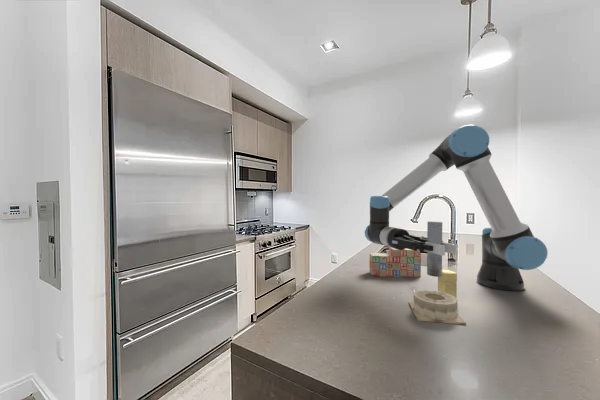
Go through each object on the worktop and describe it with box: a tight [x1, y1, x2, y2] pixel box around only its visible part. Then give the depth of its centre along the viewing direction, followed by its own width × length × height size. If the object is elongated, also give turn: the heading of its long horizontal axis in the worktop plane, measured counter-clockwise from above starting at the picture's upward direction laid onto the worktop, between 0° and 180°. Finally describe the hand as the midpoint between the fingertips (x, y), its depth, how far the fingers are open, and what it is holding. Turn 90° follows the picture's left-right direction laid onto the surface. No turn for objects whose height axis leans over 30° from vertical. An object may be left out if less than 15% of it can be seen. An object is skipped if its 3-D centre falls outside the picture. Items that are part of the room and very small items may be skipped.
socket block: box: [408, 289, 467, 326], centre depth 78 cm, size 12×12×5 cm
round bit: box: [426, 221, 443, 278], centre depth 78 cm, size 4×4×16 cm
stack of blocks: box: [368, 247, 422, 278], centre depth 118 cm, size 21×6×12 cm, turn 87°
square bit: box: [437, 269, 458, 300], centre depth 88 cm, size 4×4×10 cm
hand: (450, 250), depth 73 cm, fingers closed on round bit, 4 cm apart
